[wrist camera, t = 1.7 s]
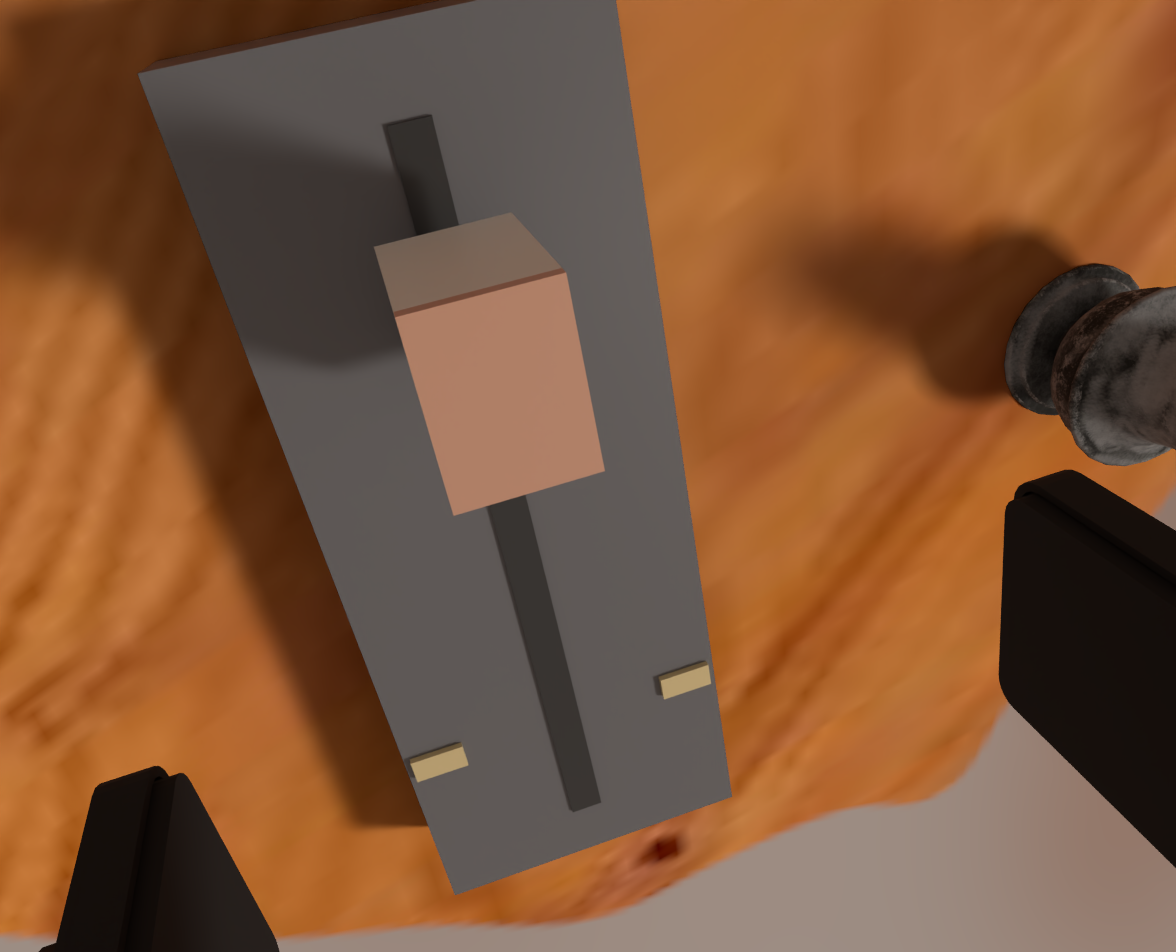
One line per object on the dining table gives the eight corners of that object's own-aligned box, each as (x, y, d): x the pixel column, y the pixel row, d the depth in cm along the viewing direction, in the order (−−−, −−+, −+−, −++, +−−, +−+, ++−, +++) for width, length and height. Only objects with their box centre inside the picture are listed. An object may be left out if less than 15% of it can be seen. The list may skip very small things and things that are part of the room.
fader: (368, 229, 21) (394, 317, 16) (498, 198, 22) (566, 272, 16) (416, 390, 23) (453, 515, 18) (533, 357, 24) (604, 471, 18)
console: (155, 61, 22) (135, 74, 19) (575, -30, 23) (614, -29, 20) (443, 826, 35) (456, 899, 32) (700, 738, 36) (734, 801, 33)
